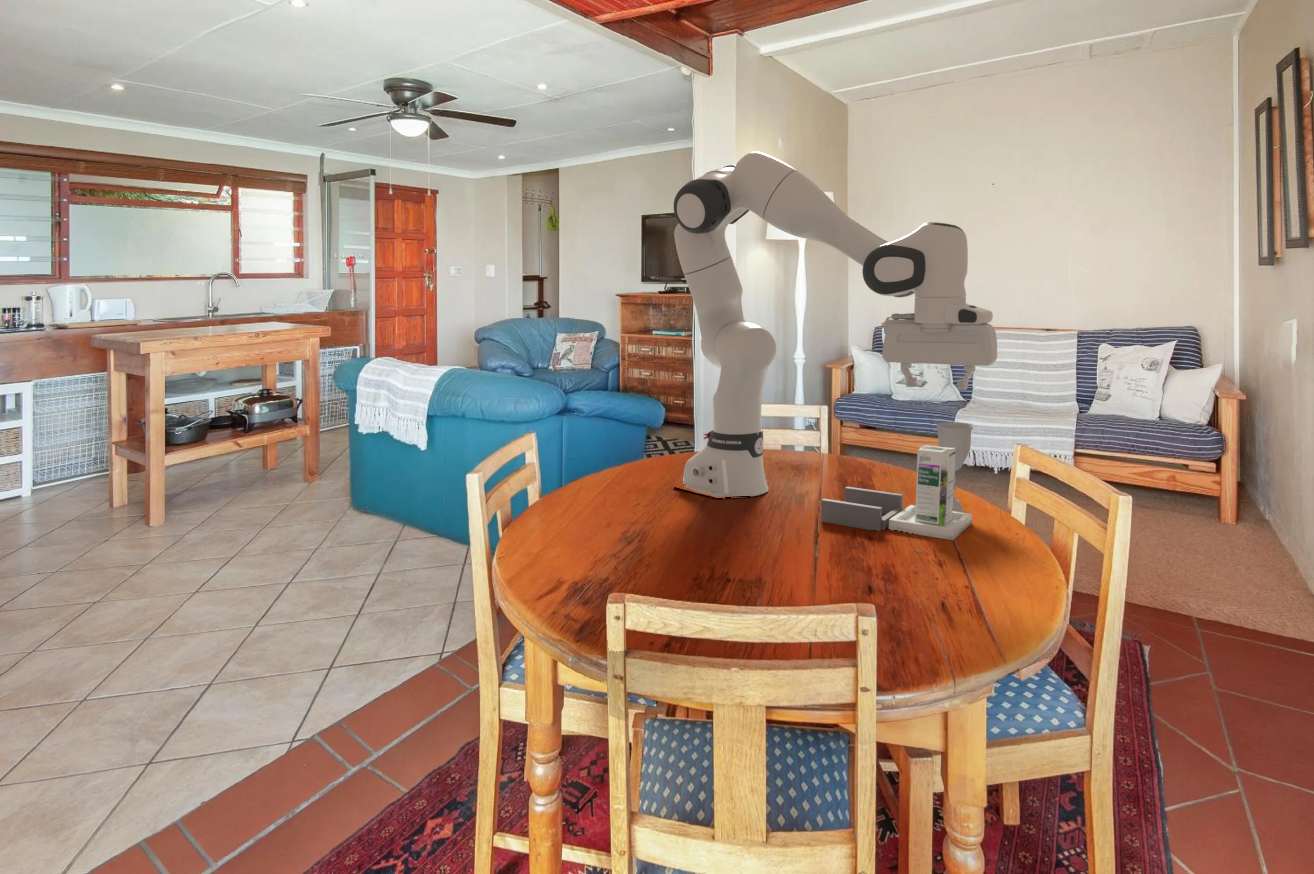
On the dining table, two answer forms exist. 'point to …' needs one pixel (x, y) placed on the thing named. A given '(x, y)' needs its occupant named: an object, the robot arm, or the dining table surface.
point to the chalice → (956, 447)
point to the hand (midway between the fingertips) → (936, 388)
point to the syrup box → (934, 485)
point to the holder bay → (862, 509)
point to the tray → (948, 531)
